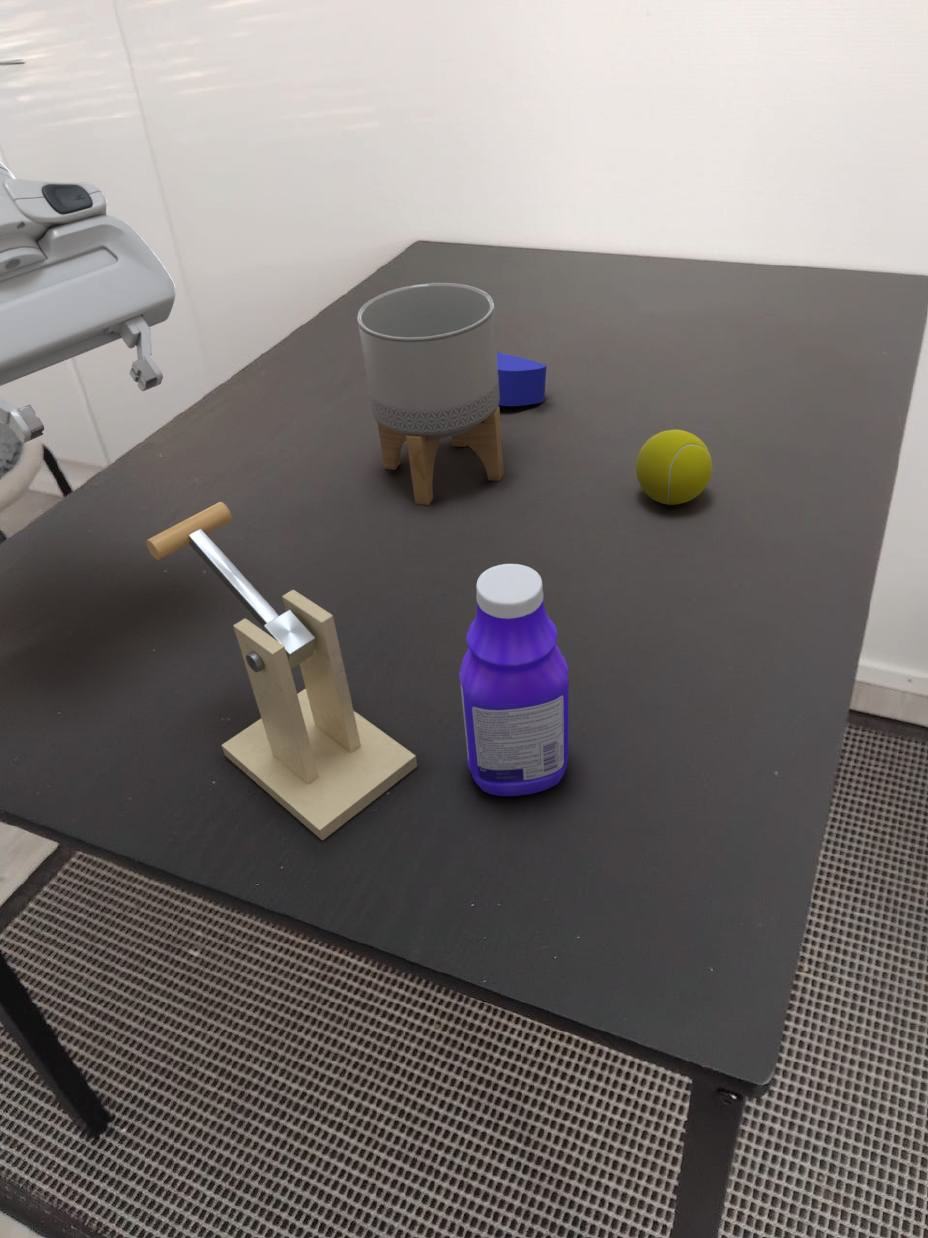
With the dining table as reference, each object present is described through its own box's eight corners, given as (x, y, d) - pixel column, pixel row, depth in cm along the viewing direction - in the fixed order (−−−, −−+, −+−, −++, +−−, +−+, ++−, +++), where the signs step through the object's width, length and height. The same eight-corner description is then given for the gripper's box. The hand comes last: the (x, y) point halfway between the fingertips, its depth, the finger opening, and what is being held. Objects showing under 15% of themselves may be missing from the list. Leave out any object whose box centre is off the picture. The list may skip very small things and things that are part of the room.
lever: (146, 552, 68) (145, 532, 66) (218, 514, 71) (219, 493, 69) (264, 687, 65) (266, 670, 63) (334, 641, 68) (338, 623, 66)
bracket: (224, 755, 74) (176, 616, 66) (317, 692, 79) (283, 554, 70) (322, 841, 67) (282, 698, 59) (417, 766, 72) (394, 623, 63)
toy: (450, 390, 121) (435, 415, 113) (452, 345, 118) (436, 367, 110) (547, 399, 119) (538, 425, 111) (551, 353, 116) (542, 376, 108)
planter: (482, 511, 97) (468, 342, 86) (363, 497, 101) (334, 333, 90) (518, 446, 106) (510, 285, 95) (408, 435, 110) (387, 279, 99)
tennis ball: (723, 502, 95) (729, 438, 91) (665, 526, 93) (669, 462, 88) (677, 471, 100) (681, 409, 95) (621, 493, 98) (622, 431, 93)
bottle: (561, 735, 73) (556, 546, 62) (576, 794, 69) (575, 602, 58) (464, 749, 73) (443, 562, 62) (474, 809, 68) (453, 618, 57)
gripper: (-175, 264, 61) (-47, 451, 61) (116, 177, 71) (223, 337, 72) (-164, 317, 66) (-47, 488, 67) (105, 229, 77) (205, 377, 77)
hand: (95, 409), depth 69 cm, fingers open, 8 cm apart
